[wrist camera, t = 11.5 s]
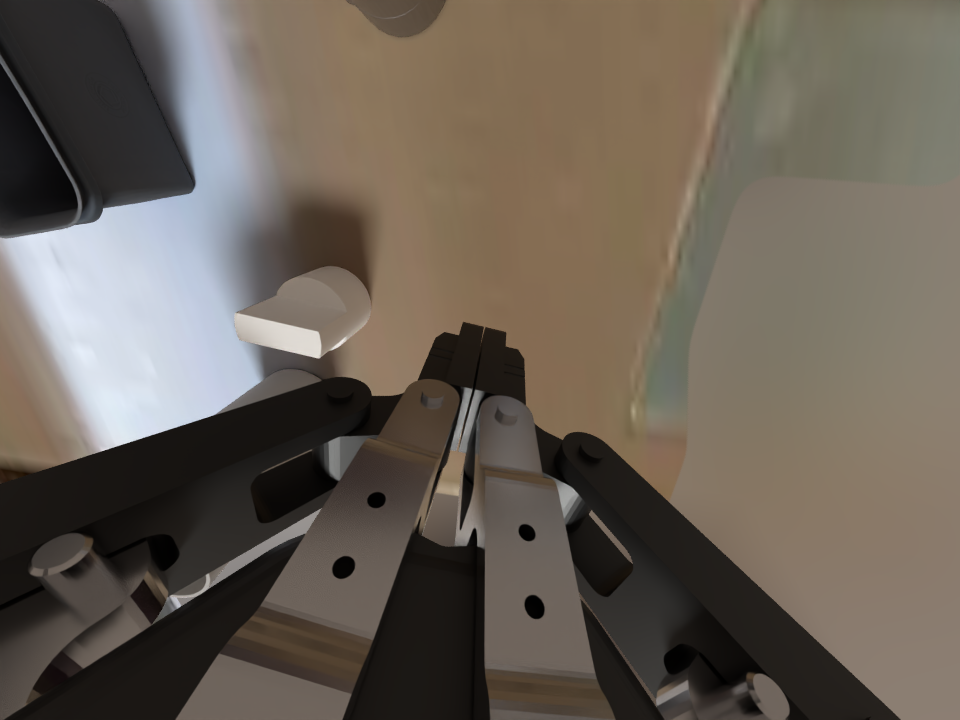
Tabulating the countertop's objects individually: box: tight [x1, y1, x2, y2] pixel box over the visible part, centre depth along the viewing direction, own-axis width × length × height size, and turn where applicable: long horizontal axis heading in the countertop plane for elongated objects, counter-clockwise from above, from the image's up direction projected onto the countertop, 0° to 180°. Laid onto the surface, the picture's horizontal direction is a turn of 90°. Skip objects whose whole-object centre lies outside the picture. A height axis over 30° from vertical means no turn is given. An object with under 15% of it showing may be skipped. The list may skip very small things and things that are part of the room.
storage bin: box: [0, 0, 193, 238], centre depth 32 cm, size 21×16×14 cm
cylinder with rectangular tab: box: [235, 266, 371, 358], centre depth 39 cm, size 9×9×12 cm
